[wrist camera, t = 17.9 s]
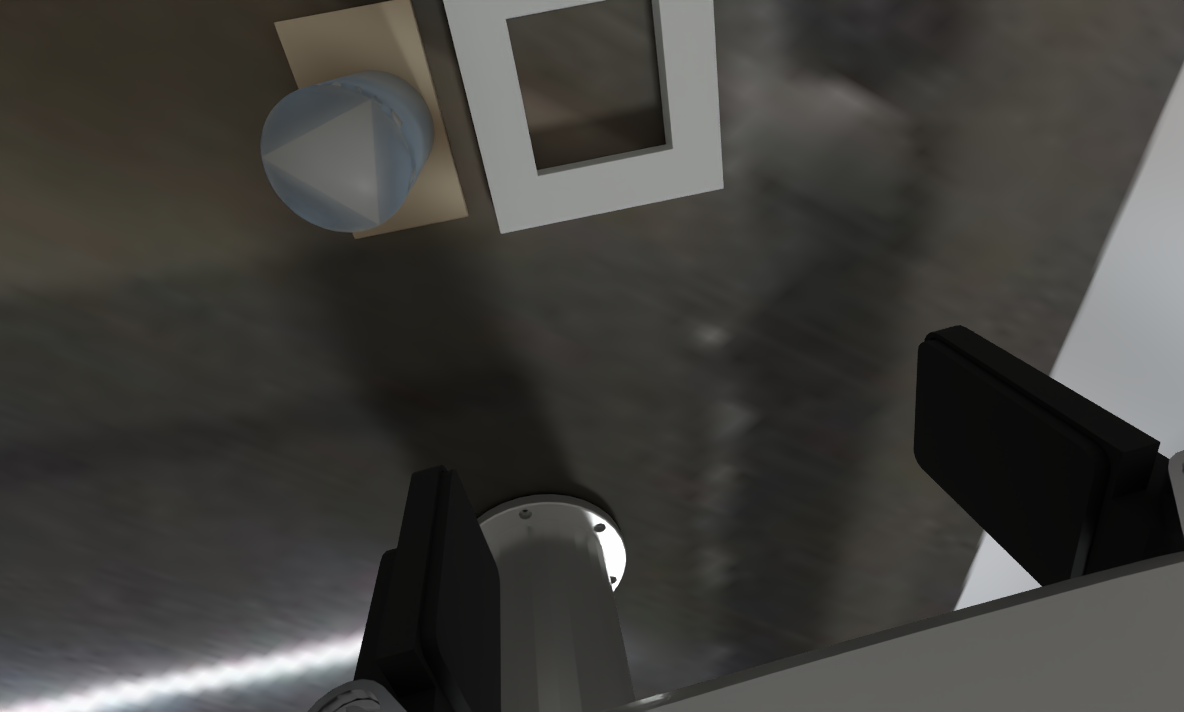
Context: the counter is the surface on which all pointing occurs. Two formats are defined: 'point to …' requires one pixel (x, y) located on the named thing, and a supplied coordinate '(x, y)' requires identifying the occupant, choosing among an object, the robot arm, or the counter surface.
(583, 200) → the dock
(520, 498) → the robot arm
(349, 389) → the counter surface
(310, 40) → the pad
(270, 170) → the cylinder
